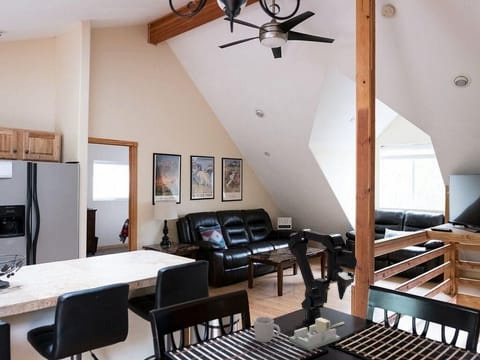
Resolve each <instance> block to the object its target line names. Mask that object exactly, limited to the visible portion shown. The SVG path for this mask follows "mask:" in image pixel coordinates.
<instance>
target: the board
mask: <svg viewBox="0 0 480 360" xmlns="http://www.w3.org/2000/svg"><path fill="white" fill-rule="evenodd" d="M308 327H309V329H308ZM308 327H302V328H299V329H295V330H293V334H294V335H293V336H290V337H289V341H290V342H292V343H293V344H296V345H299V346H300V345H301V346H300V347H302V348H304V349H306V350H308V351H312V350H314V349H318V348H320V347H322V346H325V345H328V344H331V343H334V342H337V341H339V340H340V339H341V338H340V336H339V335H337V329H336V327H334V328H330V330H327V331H324V332H323V335H321V334H320V333H316V332H315V324H314V325H312V324H310V326H308Z"/></svg>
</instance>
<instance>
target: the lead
mask: <svg viewBox="0 0 480 360" xmlns="http://www.w3.org/2000/svg"><path fill="white" fill-rule="evenodd" d="M342 325H345V322H344V321H341V322H339V323H336V324H335V323H334V324H331V325H330V329H333V328H336V327H340V326H342Z"/></svg>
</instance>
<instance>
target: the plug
mask: <svg viewBox="0 0 480 360" xmlns="http://www.w3.org/2000/svg"><path fill="white" fill-rule="evenodd" d="M314 325H315V332H316V333H320V334H321V335H323V332H324V331H327V330H330V329H331V327H330V326H331V320H328V319H326V318H323V317H321V318H318V319H315V324H314Z"/></svg>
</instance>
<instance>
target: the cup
mask: <svg viewBox="0 0 480 360" xmlns="http://www.w3.org/2000/svg"><path fill="white" fill-rule="evenodd" d="M279 326H280V325H278V324H275V320H274V319H273V318H271V317H268V316H257V317H255V318H254V319H253V328H254V330H253V331H254V337H255V340H256V341H257V342H260V343H269V342H271V340H273V337H274V338H278V337H279V336H280V334H281V327H279ZM275 328H276V329H277V332H276V334H275V331H274V330H275Z"/></svg>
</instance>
